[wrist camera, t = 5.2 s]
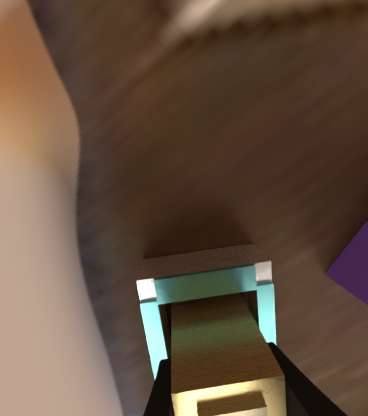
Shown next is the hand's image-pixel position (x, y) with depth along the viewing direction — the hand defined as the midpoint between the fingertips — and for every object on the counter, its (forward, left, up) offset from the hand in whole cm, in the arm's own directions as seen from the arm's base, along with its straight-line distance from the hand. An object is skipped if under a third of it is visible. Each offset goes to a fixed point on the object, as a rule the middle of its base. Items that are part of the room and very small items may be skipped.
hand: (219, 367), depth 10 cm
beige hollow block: (0, 0, -4) cm, 4 cm away
